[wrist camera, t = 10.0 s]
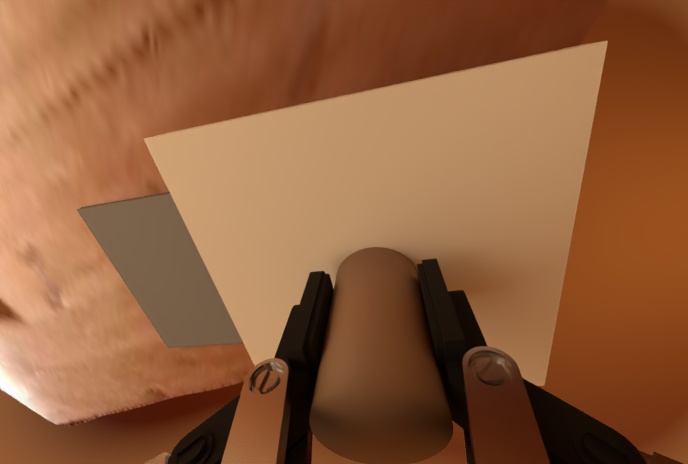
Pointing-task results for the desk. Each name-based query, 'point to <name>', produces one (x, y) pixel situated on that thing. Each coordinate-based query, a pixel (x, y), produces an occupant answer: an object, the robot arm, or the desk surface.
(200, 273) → the slate mat
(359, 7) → the desk surface
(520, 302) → the cover board
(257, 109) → the desk surface
